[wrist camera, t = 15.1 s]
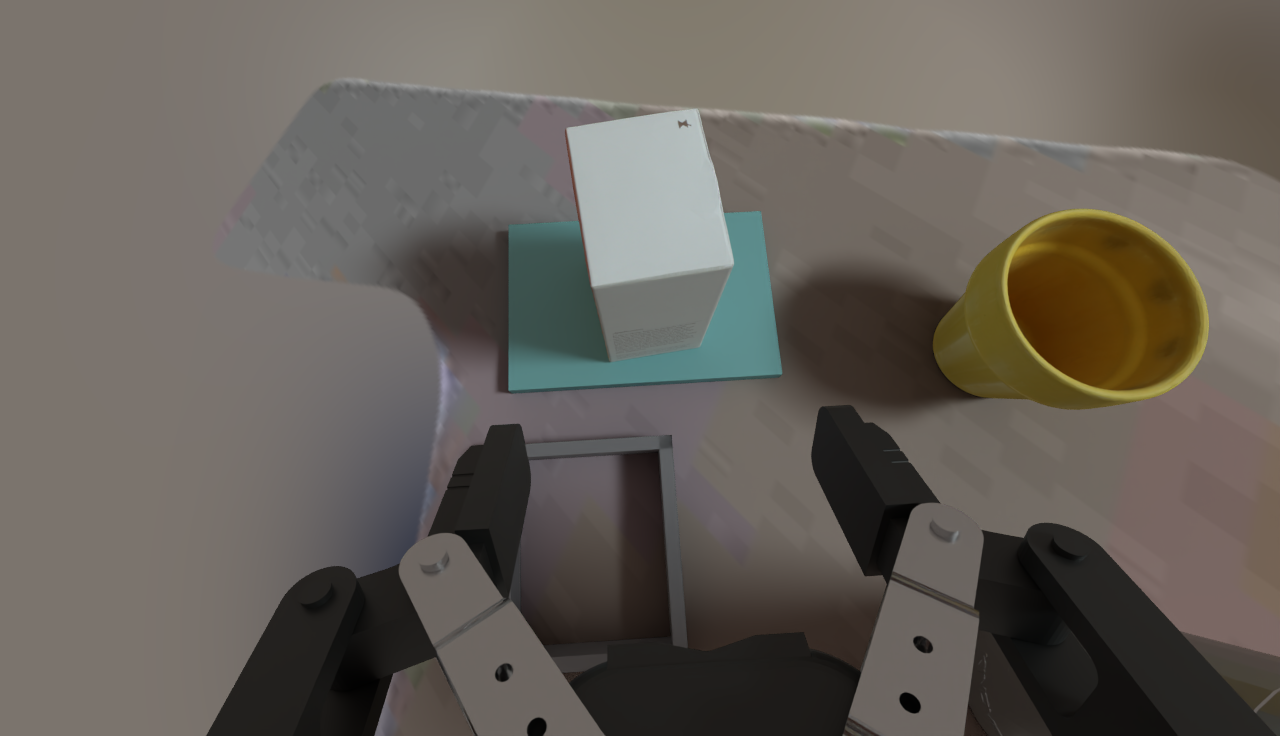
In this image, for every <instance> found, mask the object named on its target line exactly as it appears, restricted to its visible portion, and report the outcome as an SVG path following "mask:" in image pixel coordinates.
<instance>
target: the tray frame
mask: <svg viewBox="0 0 1280 736" xmlns="http://www.w3.org/2000/svg"><path fill="white" fill-rule="evenodd" d="M525 446H526V451H527V456H528V460H541V459H558V458H574V457H590V456H606V455H622V454H638V453H654V452H658V460H659V475H660V489H661V504H662V518H663V532H664V547H665V561H666V576H667V590H668V604H669V619H670V633H671V637H658V638H643V639H628V640H614V641H599V642H585V643H570V644H555V645H543V646H544V648H545V649H546V651H547V652H548V654H549V655H550V657H551V658H552V660H553V661H554V662H555V664H556V665H557V667H558V668H559V670H560V671H561V673H568V672H583V671H586V670H588V669H590V668H592V667H594V666H596V665H598V664H601V663H603V662H606V661H607V645H617V644H632V643H648V642H659V643H664V644H669V645H674V646H679V647H685V648H688V643H687V630H686V617H685V603H684V590H683V577H682V564H681V551H680V538H679V525H678V512H677V499H676V486H675V473H674V460H673V447H672V435H664V436H648V437H632V438H615V439H599V440H583V441H567V442H550V443H534V444H525ZM504 599H506V598H504ZM509 599H511V600H512V602H513V603H514V604H515V605H516V607H517V608H518V610H519V611H520V613H521V560H520V543H519V548H518V553H517V559H516V564H515V569H514V574H513V579H512V584H511V589H510V594H509Z"/></svg>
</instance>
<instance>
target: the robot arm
mask: <svg viewBox="0 0 1280 736" xmlns="http://www.w3.org/2000/svg"><path fill="white" fill-rule="evenodd" d="M811 458H812V466H813V470H814V473H815V475H816V477H817V479H818V481H819V483H820V485H821V487H822V490H823V492H824V494H825V496H826V498H827V500H828V502H829V504H830V506H831V508H832V510H833V512H834V514H835V516H836V518H837V520H838V522H839V524H840V526H841V528H842V530H843V533H844V535H845V537H846V539H847V541H848V543H849V545H850V547H851V549H852V551H853V553H854V555H855V557H856V559H857V561H858V563H859V565H860V567H861V569H862V571H863V574H864V576H878V575H883V577H884V579H885V581H886V583H887V586H886V589H885V592H884V595H883V598H882V601H881V605H880V608H879V611H878V614H877V617H876V621H875V624H874V627H873V630H872V633H871V637H870V640H869V643H868V646H867V649H866V652H865V656H864V659H863V662H862V665H861V668H860V671H859V670H857V669H856V668H854V667H853V666H851V665H849V664H848V663H846V662H844V661H842V660H841V659H838V658H836V657H834V656H832V655H829V654H827V653H824V652H821V651H817V650H813V649H809V647H808V644H807V641H806V638H805V635H804V632H799V633H784V634H769V635H755V636H752V637H749V638H747V639H744V640H741V641H738V642H735V643H732V644H729V645H727V646H724V647H721V648H718V649H715V650H712V651H700V650H695V649H690V648H685V647H679V646H674V645H669V644H664V643H659V642H648V643H632V644H617V645H607V661H606V662H603V663H601V664H598V665H596V666H594V667H592V668H590V669H588V670H586V671H585V672H583V673H582V674H580V675H579V676H577V677H576V678H574V679H573V680H572V681H571V682H570V683H568V681H567V680H566V679H565V677H564V676H563V674H562V673H561V671H560V670H559V668H558V667H557V665H556V664H555V662H554V661H553V660H552V658H551V657H550V655H549V654H548V652H547V651H546V649H545V648H544V646H543V645H542V643H541V642H540V640H539V639H538V638H537V636H536V635H535V633H534V632H533V630H532V629H531V627H530V626H529V624H528V623H527V621H526V620H525V619H524V617H523V616H522V614H521V613H520V611H519V610H518V608H517V607H516V605H515V604H514V603H513V602H512V600H511V599H509V594H510V589H511V584H512V579H513V574H514V569H515V564H516V559H517V553H518V548H519V543H520V538H521V533H522V528H523V523H524V518H525V513H526V508H527V503H528V498H529V493H530V486H531V473H530V465H529V460H528V456H527V451H526V446H525V441H524V436H523V431H522V427H521V425H520V424H507V425H492V426H491V427H490V428H489V431H488V434H487V437H486V440H485V443H484V445H475V446H471V447H470V448H469V449H468V450H467V451H466V452H465V453H464V454H463V455H462V456H461V457H460V458H459V459H458V461H457V464H456V466H455V469H454V471H453V474H452V478H451V479H450V481H449V484H448V486H447V490H446V492H445V494H444V497H443V499H442V502H441V504H440V507H439V509H438V512H437V514H436V517H435V519H434V522H433V524H432V527H431V529H430V532H429V535H428V537H426V538H424V539H422V540H421V541H419V542H417V543H416V544H415V545H413V546H412V547H411V548H410V549H409V550H408V551H407V552H406V554H405V555H404V557H403V558H402V560H401V562H400V564H398V565H396V566H393V567H390V568H388V569H385V570H382V571H379V572H376V573H373V574H370V575H366V576H364V577H360V578H356V576H355V574H354V573H353V572H352V571H351V570H350V569H348V568H345V567H341V566H333V567H327V568H323V569H320V570H317V571H315V572H313V573H311V574H309V575H307V576H306V577H304V578H303V579H301V580H300V581H298V582H297V583H296V584H295V585H294V586H293V587H292V588H291V589H290V590H289V591H288V592H287V593H286V594H285V596H284V597H283V599H282V600H281V602H280V604H279V606H278V608H277V609H276V611H275V613H274V615H273V617H272V619H271V620H270V622H269V624H268V626H267V627H266V629H265V631H264V633H263V635H262V637H261V638H260V640H259V642H258V644H257V645H256V647H255V649H254V651H253V653H252V655H251V656H250V658H249V660H248V662H247V663H246V665H245V667H244V669H243V671H242V672H241V674H240V676H239V678H238V680H237V681H236V683H235V685H234V687H233V689H232V691H231V692H230V694H229V696H228V698H227V699H226V701H225V703H224V705H223V707H222V708H221V710H220V712H219V714H218V716H217V718H216V720H215V721H214V723H213V725H212V727H211V728H210V730H209V732H208V734H207V736H374V735H375V731H376V728H377V725H378V721H379V718H380V715H381V712H382V708H383V705H384V702H385V698H386V695H387V692H388V689H389V685H390V682H391V679H392V676H393V673H395V672H398V671H401V670H403V669H406V668H408V667H411V666H413V665H416V664H419V663H421V662H424V661H426V660H429V659H432V658H434V657H436V659H437V661H438V663H439V665H440V667H441V669H442V671H443V673H444V675H445V677H446V679H447V681H448V683H449V685H450V688H451V690H452V692H453V694H454V696H455V698H456V700H457V702H458V704H459V706H460V708H461V710H462V712H463V714H464V717H465V719H466V721H467V723H468V725H469V727H470V729H471V731H472V733H473V736H964V730H965V722H966V715H967V707H968V703H969V705H970V708H971V710H972V712H973V714H974V716H975V718H976V720H977V721H978V722H979V724H980V725H981V726H982V728H983V729H984V731H985V732H986V733H987V735H988V736H1280V657H1278V656H1274V655H1270V654H1266V653H1262V652H1258V651H1254V650H1250V649H1247V648H1243V647H1239V646H1235V645H1231V644H1227V643H1223V642H1220V641H1216V640H1212V639H1208V638H1204V637H1200V636H1196V635H1192V634H1189V633H1185V632H1181V631H1179V630H1178V629H1177V628H1176V627H1175V626H1174V625H1173V624H1172V622H1171V621H1170V620H1169V619H1168V618H1167V617H1166V616H1165V615H1164V614H1163V613H1162V612H1161V611H1160V610H1159V608H1158V607H1157V606H1156V605H1155V604H1154V603H1153V602H1152V601H1151V600H1150V599H1149V598H1148V597H1147V596H1146V594H1145V593H1144V592H1143V591H1142V590H1141V589H1140V588H1139V587H1138V586H1137V585H1136V584H1135V583H1134V582H1133V581H1132V579H1131V578H1130V577H1129V576H1128V575H1127V574H1126V573H1125V572H1124V571H1123V570H1122V569H1121V568H1120V567H1119V565H1118V564H1117V563H1116V562H1115V561H1114V560H1113V559H1112V558H1111V557H1110V556H1109V555H1108V554H1107V553H1106V551H1105V550H1104V549H1103V548H1102V547H1101V546H1100V545H1099V544H1097V543H1096V542H1095V541H1093V540H1092V539H1091V538H1089V537H1088V536H1086V535H1084V534H1082V533H1081V532H1079V531H1076V530H1074V529H1072V528H1069V527H1066V526H1063V525H1059V524H1053V523H1039V524H1035V525H1033V526H1031V527H1030V528H1029V529H1028V531H1027V533H1026V535H1025V537H1024V538H1020V537H1015V536H1010V535H1004V534H999V533H993V532H988V531H984V530H981V529H980V527H979V526H978V524H977V523H976V522H975V521H974V520H973V519H972V518H971V517H969V516H968V515H967V514H965V513H964V512H962V511H960V510H958V509H956V508H954V507H951V506H948V505H945V504H941V503H940V502H939V501H938V499H937V498H936V497H935V495H934V494H933V493H932V491H931V490H930V488H929V487H928V486H927V484H926V483H925V482H924V480H923V479H922V478H921V476H920V475H919V474H918V472H917V471H916V470H915V468H914V467H913V466H912V464H911V463H909V462H908V459H907V457H906V456H905V455H904V453H903V452H902V451H900V448H899V447H898V445H897V444H896V443H895V441H894V440H893V439H892V437H891V436H890V435H889V434H888V433H887V432H885V431H884V430H882V429H881V428H880V427H878V426H877V425H875V424H874V423H864V422H863V420H862V419H861V418H860V416H859V415H858V413H857V412H856V410H855V409H854V408H853V407H852V406H851V405H842V406H825V407H821V408H820V410H819V412H818V417H817V423H816V429H815V434H814V440H813V446H812V453H811ZM504 598H506V599H504Z"/></svg>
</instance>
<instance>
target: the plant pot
mask: <svg viewBox="0 0 1280 736" xmlns="http://www.w3.org/2000/svg"><path fill="white" fill-rule="evenodd" d="M1208 330H1209V318H1208V310H1207V305H1206V301H1205V298H1204V295H1203V292H1202V289H1201V287H1200V285H1199V283H1198V281H1197V279H1196V277H1195V275H1194V274H1193V272H1192V270H1191V269H1190V267H1189V266H1188V265H1187V263H1186V262H1185V261H1184V259H1183V258H1182V257H1181V256H1180V255H1179V254H1178V252H1177V251H1176V250H1175V249H1174V248H1173V247H1172V246H1171V245H1170V244H1169V243H1167V242H1166V241H1165V240H1164V239H1162V238H1161V237H1160V236H1159V235H1157V234H1156V233H1155V232H1153V231H1151V230H1150V229H1148V228H1147V227H1145V226H1143V225H1141V224H1139V223H1138V222H1136V221H1133V220H1131V219H1129V218H1126V217H1123V216H1121V215H1118V214H1114V213H1111V212H1107V211H1101V210H1094V209H1070V210H1063V211H1058V212H1054V213H1051V214H1047V215H1044V216H1042V217H1040V218H1038V219H1036V220H1034V221H1032V222H1030V223H1029V224H1027V225H1025V226H1024V227H1023V228H1021V229H1020V230H1018V231H1017V232H1015V233H1014V234H1013V235H1011V236H1010V237H1009V238H1007V239H1006V240H1005V241H1003V242H1002V243H1001V244H999V245H998V246H997V247H996V248H994V249H993V250H992V251H991V252H990V253H989V254H987V255H986V256H985V257H984V258H983V259H982V261H981V262H980V263H979V264H978V265H977V267H976V268H975V270H974V272H973V273H972V275H971V277H970V280H969V282H968V285H967V288H966V292H965V293H964V294H963V296H962V297H961V298H960V299H959V300H958V301H957V302H956V304H955V305H954V306H953V307H952V308H951V309H950V310H949V311H948V313H947V314H946V315H945V316H944V317H943V318H942V320H941V321H940V322H939V324H938V326H937V328H936V330H935V333H934V338H933V351H934V356H935V359H936V361H937V364H938V366H939V367H940V369H941V371H942V372H943V373H944V375H945V376H946V377H947V378H948V379H949V380H950V381H951V382H952V383H953V384H954V385H956V386H957V387H958V388H960V389H962V390H963V391H965V392H968V393H970V394H973V395H976V396H979V397H985V398H1005V399H1030V400H1032V401H1035V402H1037V403H1040V404H1043V405H1047V406H1050V407H1055V408H1060V409H1074V410H1080V409H1091V408H1100V407H1107V406H1113V405H1120V404H1125V403H1130V402H1136V401H1141V400H1145V399H1149V398H1153V397H1156V396H1158V395H1161V394H1163V393H1166V392H1168V391H1169V390H1171V389H1173V388H1174V387H1176V386H1177V385H1179V384H1180V383H1181V382H1182V381H1184V380H1185V379H1186V378H1187V377H1188V376H1189V375H1190V374H1191V372H1192V371H1193V370H1194V369H1195V367H1196V366H1197V364H1198V363H1199V361H1200V359H1201V357H1202V355H1203V352H1204V350H1205V346H1206V343H1207V338H1208Z"/></svg>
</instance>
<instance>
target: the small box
mask: <svg viewBox="0 0 1280 736" xmlns="http://www.w3.org/2000/svg"><path fill="white" fill-rule="evenodd" d="M565 137H566V144H567V150H568V157H569V163H570V170H571V176H572V183H573V189H574V195H575V201H576V207H577V213H578V219H579V225H580V231H581V236H582V242H583V247H584V254H585V261H586V266H587V271H588V276H589V282H590V287H591V289H592V292H593V297H594V301H595V304H596V308H597V313H598V317H599V321H600V324H601V329H602V333H603V336H604V340H605V346H606V350H607V354H608V359H609V361H610V362H615V361H621V360H627V359H633V358H639V357H645V356H651V355H657V354H663V353H669V352H675V351H681V350H687V349H693V348H698V347H700V346H701V343H702V341H703V338H704V336H705V334H706V331H707V329H708V326H709V324H710V321H711V319H712V317H713V314H714V312H715V310H716V307H717V305H718V302H719V300H720V297H721V295H722V292H723V290H724V287H725V285H726V283H727V280H728V278H729V276H730V273H731V271H732V268H733V266H734V259H733V254H732V249H731V244H730V240H729V235H728V230H727V226H726V222H725V217H724V212H723V208H722V203H721V198H720V193H719V187H718V182H717V178H716V174H715V170H714V166H713V163H712V161H711V157H710V154H709V150H708V146H707V143H706V139H705V134H704V131H703V127H702V123H701V119H700V115H699V111H698V109H697V108H694V109H689V110H681V111H673V112H666V113H658V114H652V115H645V116H639V117H632V118H626V119H620V120H613V121H607V122H601V123H594V124H588V125H582V126H577V127H569V128H566V130H565Z"/></svg>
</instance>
